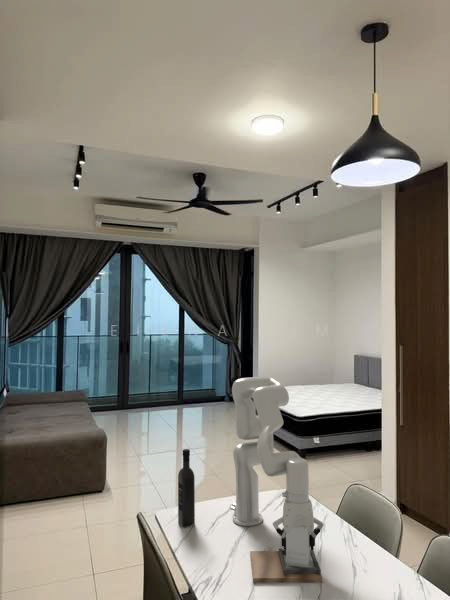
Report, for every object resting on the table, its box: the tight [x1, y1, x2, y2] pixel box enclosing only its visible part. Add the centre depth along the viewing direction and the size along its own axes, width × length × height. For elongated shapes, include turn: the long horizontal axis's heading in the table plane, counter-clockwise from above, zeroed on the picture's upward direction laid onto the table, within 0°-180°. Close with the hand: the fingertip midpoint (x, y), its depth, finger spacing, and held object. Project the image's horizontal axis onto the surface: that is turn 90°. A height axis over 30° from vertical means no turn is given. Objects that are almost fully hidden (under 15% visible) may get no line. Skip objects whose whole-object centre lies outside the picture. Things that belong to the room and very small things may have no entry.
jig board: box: [249, 547, 323, 584], centre depth 143 cm, size 22×16×3 cm
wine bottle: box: [177, 448, 196, 528], centre depth 175 cm, size 6×6×30 cm
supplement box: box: [286, 527, 311, 568], centre depth 143 cm, size 7×7×13 cm
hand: (298, 548), depth 143 cm, fingers closed on supplement box, 8 cm apart
